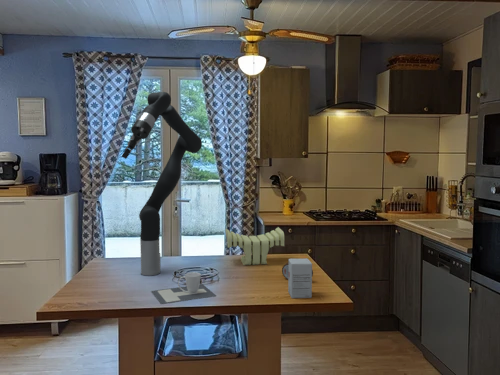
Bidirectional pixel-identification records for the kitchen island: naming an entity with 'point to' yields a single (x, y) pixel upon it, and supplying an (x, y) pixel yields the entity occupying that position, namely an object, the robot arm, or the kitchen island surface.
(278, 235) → the slatted curved stool
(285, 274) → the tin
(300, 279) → the supplement box
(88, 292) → the kitchen island surface
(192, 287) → the cup
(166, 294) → the t mat
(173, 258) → the kitchen island surface
